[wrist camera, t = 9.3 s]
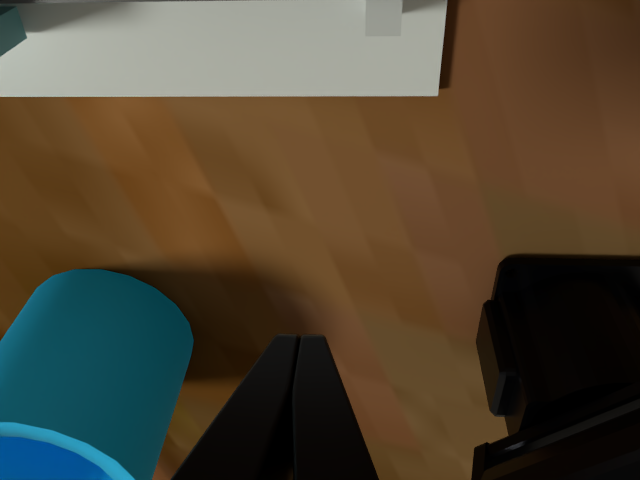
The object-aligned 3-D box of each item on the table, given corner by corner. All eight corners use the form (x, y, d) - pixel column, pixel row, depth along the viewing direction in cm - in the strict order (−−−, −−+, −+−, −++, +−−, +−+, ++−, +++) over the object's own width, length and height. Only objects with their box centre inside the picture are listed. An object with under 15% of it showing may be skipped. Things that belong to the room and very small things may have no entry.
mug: (117, 243, 25) (30, 396, 19) (226, 356, 29) (185, 513, 23) (-56, 328, 29) (-175, 477, 23) (60, 416, 33) (-13, 563, 27)
